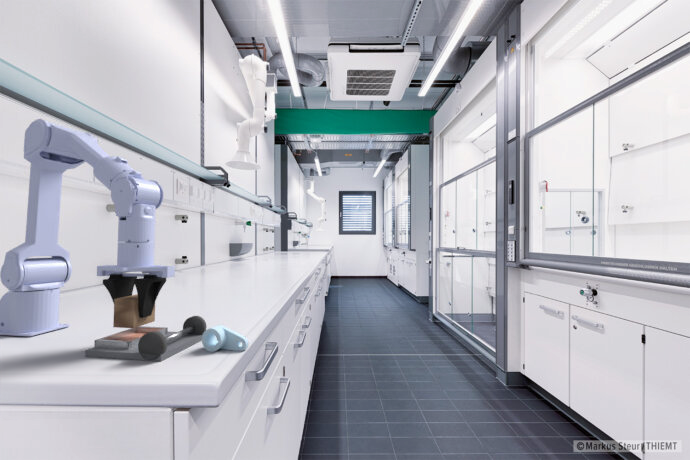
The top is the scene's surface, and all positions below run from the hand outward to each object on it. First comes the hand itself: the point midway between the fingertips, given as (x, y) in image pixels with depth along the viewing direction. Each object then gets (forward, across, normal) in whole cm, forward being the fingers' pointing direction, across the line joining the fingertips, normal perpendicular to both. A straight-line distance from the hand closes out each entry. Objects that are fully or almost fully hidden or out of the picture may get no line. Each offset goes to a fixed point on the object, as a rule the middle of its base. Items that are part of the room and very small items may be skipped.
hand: (134, 316), depth 57 cm
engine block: (+2, 0, 0) cm, 2 cm away
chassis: (+5, +4, 0) cm, 6 cm away
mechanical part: (+6, +18, +1) cm, 19 cm away
